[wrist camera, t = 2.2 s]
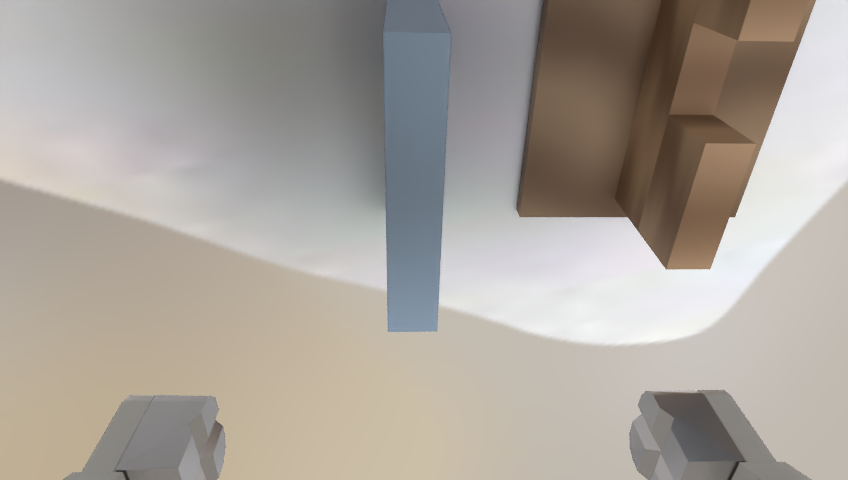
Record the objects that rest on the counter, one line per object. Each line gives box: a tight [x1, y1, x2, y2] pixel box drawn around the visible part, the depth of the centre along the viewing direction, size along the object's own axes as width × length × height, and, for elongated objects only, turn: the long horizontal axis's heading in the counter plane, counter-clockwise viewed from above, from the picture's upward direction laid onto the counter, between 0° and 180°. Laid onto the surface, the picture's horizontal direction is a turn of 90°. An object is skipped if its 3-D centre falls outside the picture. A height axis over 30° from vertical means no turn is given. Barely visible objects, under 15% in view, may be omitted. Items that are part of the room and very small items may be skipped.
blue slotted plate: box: [383, 0, 451, 332], centre depth 21 cm, size 10×2×9 cm, turn 179°
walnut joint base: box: [517, 0, 816, 269], centre depth 21 cm, size 16×11×7 cm
